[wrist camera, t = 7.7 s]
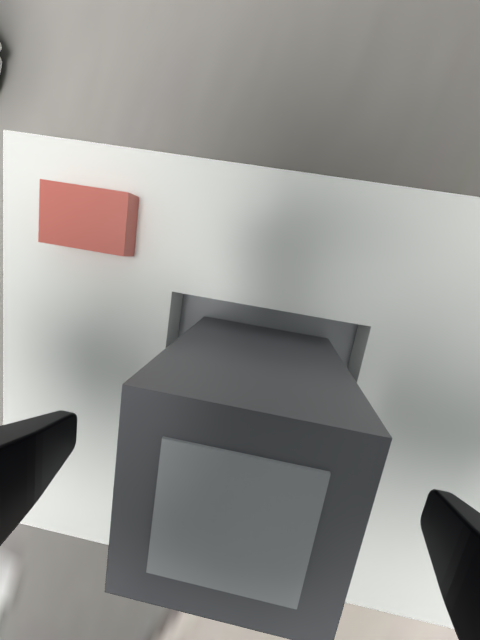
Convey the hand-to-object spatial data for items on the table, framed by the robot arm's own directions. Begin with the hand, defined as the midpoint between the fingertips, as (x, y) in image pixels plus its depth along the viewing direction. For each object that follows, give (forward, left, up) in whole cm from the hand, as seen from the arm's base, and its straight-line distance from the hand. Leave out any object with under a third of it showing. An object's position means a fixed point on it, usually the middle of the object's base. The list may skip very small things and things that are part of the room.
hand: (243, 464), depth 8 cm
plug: (0, 0, -5) cm, 5 cm away
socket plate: (0, 0, -6) cm, 6 cm away
